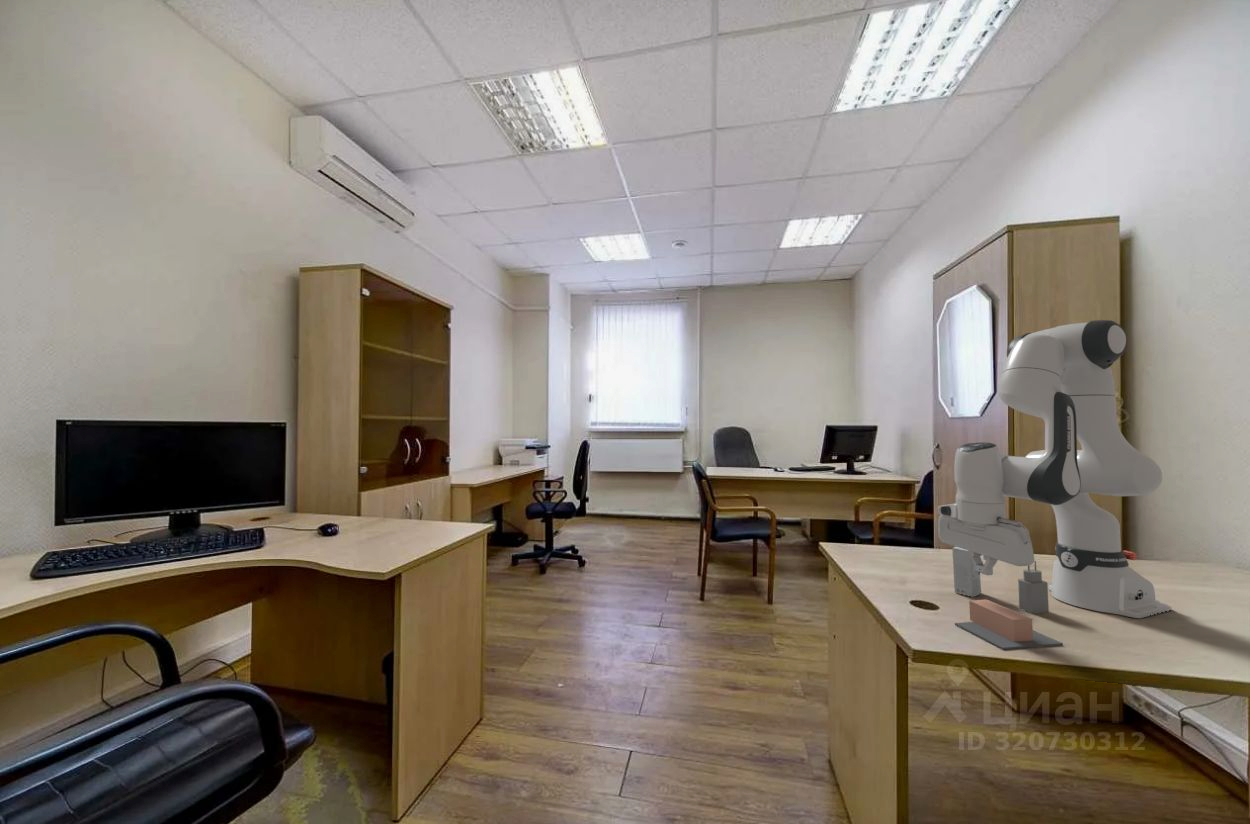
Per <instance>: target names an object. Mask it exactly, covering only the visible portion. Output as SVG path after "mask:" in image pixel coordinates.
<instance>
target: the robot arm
mask: <svg viewBox="0 0 1250 824" xmlns="http://www.w3.org/2000/svg"><path fill="white" fill-rule="evenodd" d="M1127 343H1128V342H1127V334H1126V331H1125V329H1124V328H1123V327H1122V325H1121V324H1119V323H1118V322H1116V321H1114V320H1109V319H1106V320H1104V319H1099V320H1098V319H1097V320H1090V321H1089V322H1078V323H1069V324H1062V325H1058V326H1055V327H1051V328H1047V329H1042V330H1039V331H1035V332H1027V333H1024V334H1022V335H1019V336H1017V337H1015V338H1013V339H1012V340H1011V342H1009V344H1008V346H1007V349H1006V360H1005V362H1004V365H1003V367H1002V370H1001V374H1000V377H999V382H998V385H997V386H998V387H997V392H998V396H999V398H1000V400H1001V401H1002V402H1003V403H1004V405H1007V406H1008V407H1010V408H1011V409H1013V410H1015V411H1017V412H1020V413H1023V414H1026V415H1028V416H1029V415H1030V416H1033V417H1036V418H1040V419H1042V420H1043V422H1044V426H1045V427H1044V449H1041V450H1035V451H1030V452H1029V453H1027V454H1026V456H1013V455H1008V454H1005V453H1003V452H1001V451H1000V449H999V447H998V445H997V444H995V443H992V442H970V443H964V444H962V445H960V446H958V447H957V449H956V451H955V456H954V465H953V468H954V470H953V472H954V473H953V474H954V482H955V484H956V489H957V490H956V494H955V502H954V503H950V504H943V505H938V506H937V513H938V514H939V516H938V519H937V530H938V531H937V532H938V538H939V540H940V542H941V543H943V544H947V545H950V546H953V547H959V548H962V549H965V550H968V551H969V556H970V558H971V560H972V562H973V563H974V570H975V571H977V572H980V574H982V575H986V576H993V574H994V569H993V568H994V567H995V566H996V564H997V562H999V561H1000V562H1004V563H1006V564H1010V565H1012V566H1016V567H1028V566H1032V565H1033V564H1034V561H1035V555H1034V549H1033V544H1032V539H1031V537H1030V530H1029V529H1028V528H1027V527H1026V526H1025V525H1024V524H1023V523H1022V522H1021V521H1019V520H1013V519H1009V518H1007V517H1006V500H1005V498H1004V497H1009V498H1015V499H1020V500H1021V499H1023V500H1029V501H1035V502H1039V503H1043V504H1049V505H1050V506H1051V507H1052V510H1053V513H1054V516H1055V523H1056V534H1057V541H1056V542H1055V546H1054V548H1055V549H1054V550H1055V556H1056V557H1057V559H1055V561H1054V562H1053V569H1052V580H1051V581H1052V582H1051V584H1049V585H1048V591H1049V590H1050V591H1051V592H1050V593H1051V596H1052V597H1053V598H1055V599H1056V600H1058V601H1061V602H1062V603H1063V602H1064V603H1065V604H1069V605H1072V606H1075V607H1078V608H1083V609H1088V610H1091V611H1096V612H1101V613H1108V614H1114V615H1120V616H1124V617H1128V618H1129V617H1130V618H1134V619H1142V618H1145V617H1150V615H1151V616H1154V614H1155V615H1158V614H1157V613H1159V614H1162V613H1161V612H1163V613H1166V612H1165V611H1167V612H1170V611H1169V610H1171V611H1172V606H1171V605H1169V604H1168V603H1165V602H1163V601H1160V600H1157V599H1156V591H1155V587H1154V585H1153V583H1152V582H1151V581H1150V580H1148V579H1147V578H1145V577H1144V576H1143V575H1141V574H1140V573H1139V572H1137V571H1136V570H1134V569H1133V568H1132V567H1130V566H1129V561H1128V560H1131V561H1136V560H1137V558H1138V554H1137V553H1136V552H1133V551H1128V550H1122V547H1121V546H1122V544H1121V542H1122V541H1121V524H1120V522H1119V520H1118V519H1117V517H1116V516H1115V515H1114V514H1113V513H1111V512H1109V511H1108V510H1106V509H1104V508H1102V507H1100V506H1098V505H1097V504H1096V503H1095V502H1094V501H1093V500H1092V499H1091V496H1090V494H1095V495H1105V496H1114V497H1140V496H1148V495H1151V494H1153V493H1155V491H1156V490H1158V488H1159V487H1160V485H1161V484H1162V481H1163V473H1162V469H1161V468H1160V466H1159V465H1158V463H1157V462H1156V461H1155V460H1154V459H1152V458H1151V457H1150V456H1148V455H1146V454H1144V453H1143V452H1141V451H1139V450H1138V449H1136V448H1135V447H1134V446H1132V445H1131V444H1130V442H1129V441H1128V440H1127V439H1126V438H1125V436H1124V434H1123V433H1122V431H1121V429H1120V427H1119V421H1118V414H1117V403H1116V402H1117V398H1116V397H1117V395H1116V386H1115V380H1114V379H1115V378H1114V373H1113V370H1112V367H1111V366H1112V365H1113V364H1114V362H1117V360H1119V359H1120V358H1121V356H1122V355H1123V354H1124V352H1125V350H1126V349H1127ZM1078 442H1079V444H1080V446H1081V449H1078ZM981 556H982V557H983V559H982V558H981ZM983 560H984V561H985V562H983Z"/></svg>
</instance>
